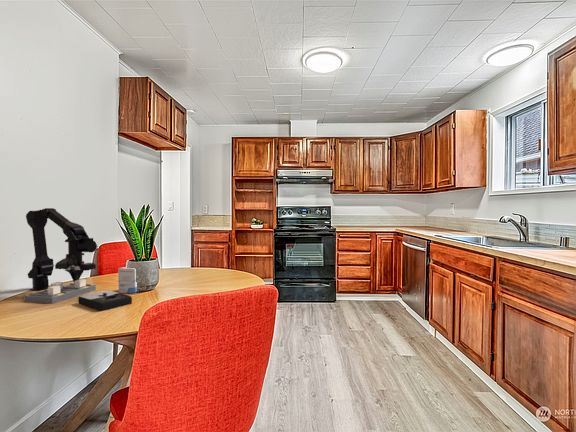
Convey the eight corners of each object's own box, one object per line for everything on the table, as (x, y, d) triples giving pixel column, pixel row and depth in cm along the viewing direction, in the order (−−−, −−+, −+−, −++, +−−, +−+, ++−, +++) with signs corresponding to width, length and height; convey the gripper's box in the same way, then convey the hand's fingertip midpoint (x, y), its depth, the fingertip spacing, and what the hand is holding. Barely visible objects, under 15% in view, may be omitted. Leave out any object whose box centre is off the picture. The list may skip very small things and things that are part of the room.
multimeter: (101, 312, 136) (101, 300, 136) (77, 304, 147) (77, 293, 146) (132, 304, 147) (132, 293, 146) (108, 298, 157) (108, 287, 157)
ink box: (140, 290, 169) (140, 266, 169) (134, 293, 164) (134, 268, 164) (124, 290, 170) (123, 266, 170) (118, 292, 165) (117, 268, 165)
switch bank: (24, 301, 151) (24, 294, 151) (70, 288, 174) (70, 282, 174) (52, 303, 147) (52, 296, 147) (95, 290, 171) (95, 284, 170)
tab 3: (74, 287, 165) (74, 280, 165) (80, 285, 169) (80, 279, 169) (79, 287, 165) (79, 281, 164) (85, 285, 168) (85, 279, 168)
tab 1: (50, 289, 160) (50, 283, 160) (57, 288, 163) (57, 281, 163) (56, 290, 159) (56, 283, 159) (62, 288, 163) (62, 282, 163)
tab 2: (47, 294, 152) (47, 287, 152) (55, 292, 155) (54, 285, 155) (53, 294, 151) (53, 288, 151) (60, 292, 154) (60, 286, 154)
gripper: (44, 253, 161) (45, 286, 161) (77, 254, 157) (78, 288, 157) (65, 250, 172) (65, 281, 172) (96, 251, 168) (96, 283, 168)
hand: (75, 283), depth 167 cm, fingers closed
